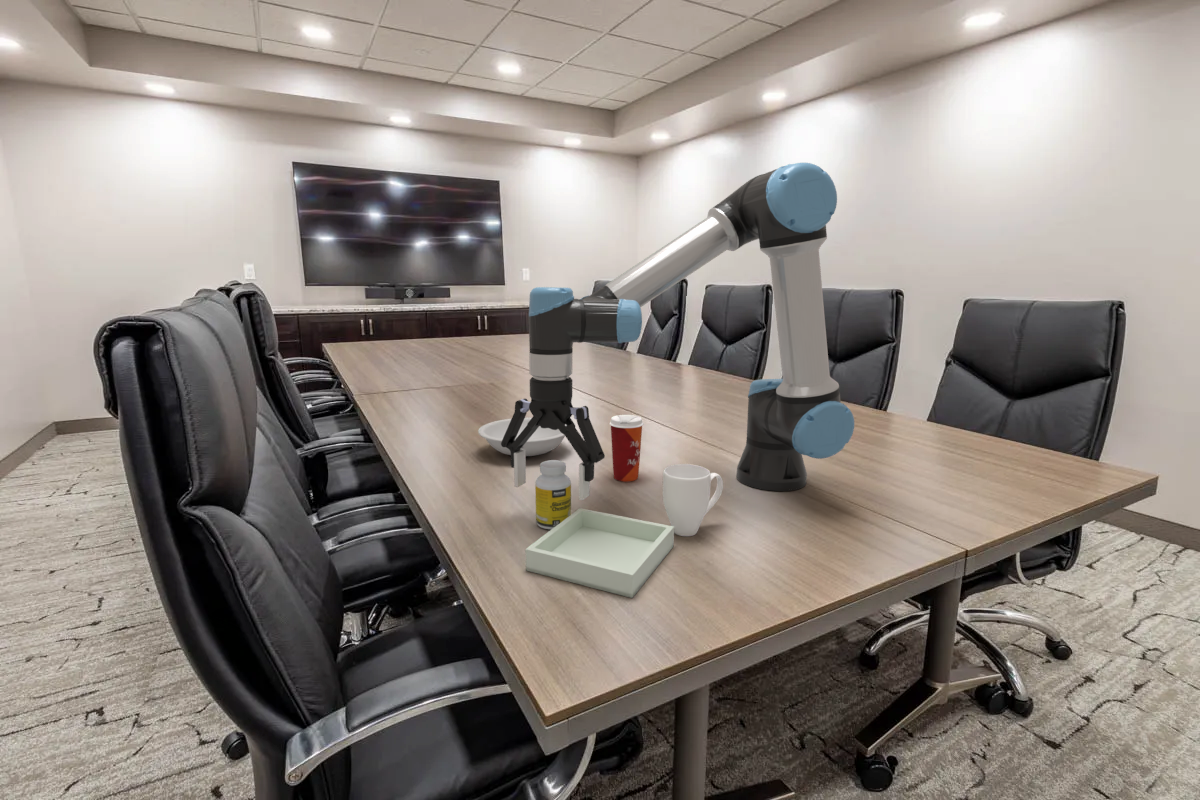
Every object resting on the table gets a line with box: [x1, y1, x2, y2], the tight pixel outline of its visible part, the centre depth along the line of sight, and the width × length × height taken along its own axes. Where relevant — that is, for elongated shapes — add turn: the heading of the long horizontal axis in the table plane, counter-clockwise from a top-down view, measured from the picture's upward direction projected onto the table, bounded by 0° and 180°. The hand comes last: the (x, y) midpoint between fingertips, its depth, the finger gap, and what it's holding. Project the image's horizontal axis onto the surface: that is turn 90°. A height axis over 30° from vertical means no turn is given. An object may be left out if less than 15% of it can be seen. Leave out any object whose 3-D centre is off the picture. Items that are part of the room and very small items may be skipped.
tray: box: [524, 507, 675, 599], centre depth 93 cm, size 18×18×4 cm
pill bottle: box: [534, 459, 572, 531], centre depth 106 cm, size 6×6×12 cm
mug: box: [662, 463, 724, 537], centre depth 103 cm, size 12×8×11 cm
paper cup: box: [608, 414, 645, 483], centre depth 130 cm, size 8×8×14 cm
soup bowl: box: [477, 416, 567, 457], centre depth 149 cm, size 24×24×7 cm
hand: (551, 491), depth 105 cm, fingers open, 13 cm apart
